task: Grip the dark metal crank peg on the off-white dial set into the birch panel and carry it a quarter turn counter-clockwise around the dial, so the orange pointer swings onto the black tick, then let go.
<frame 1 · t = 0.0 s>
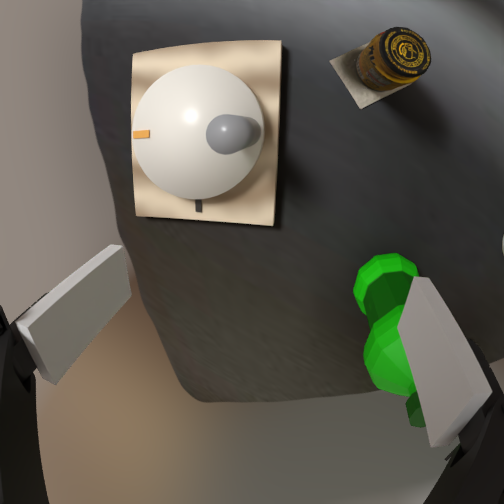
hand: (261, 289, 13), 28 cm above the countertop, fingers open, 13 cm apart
dial panel: (203, 130, 37), on the countertop
dial: (180, 132, 30), point 8 cm above the countertop, hinge at 0.0°
plastic bottle: (381, 273, 41), on the countertop
condiment: (371, 71, 30), on the countertop
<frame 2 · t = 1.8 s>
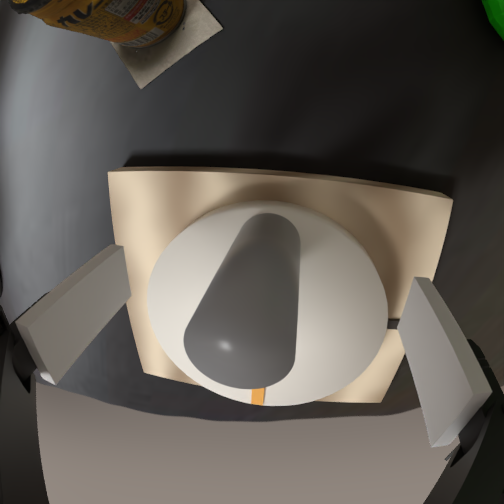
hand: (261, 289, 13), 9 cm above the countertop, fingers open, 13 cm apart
dial panel: (269, 298, 24), on the countertop
dial: (255, 368, 17), point 8 cm above the countertop, hinge at 0.0°
condiment: (155, 23, 16), on the countertop
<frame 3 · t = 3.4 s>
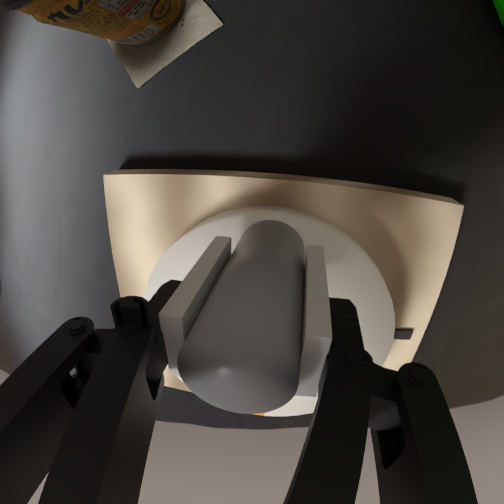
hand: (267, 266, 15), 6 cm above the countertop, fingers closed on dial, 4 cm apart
dial panel: (271, 306, 23), on the countertop
dial: (255, 382, 16), point 8 cm above the countertop, hinge at 0.0°, touching gripper
condiment: (152, 19, 15), on the countertop
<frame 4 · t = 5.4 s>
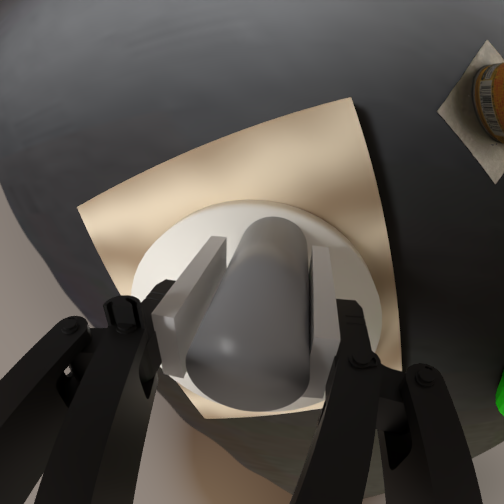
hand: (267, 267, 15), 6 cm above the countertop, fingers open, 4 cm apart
dial panel: (258, 301, 23), on the countertop
dial: (240, 376, 16), point 8 cm above the countertop, hinge at 58.4°, touching gripper
condiment: (493, 110, 14), on the countertop
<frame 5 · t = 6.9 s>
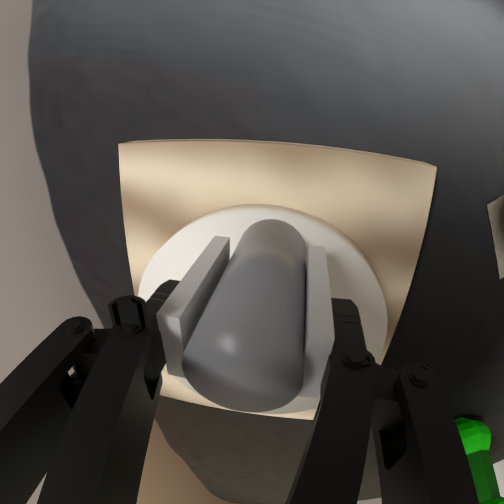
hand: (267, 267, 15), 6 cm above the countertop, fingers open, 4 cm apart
dial panel: (264, 304, 23), on the countertop
dial: (247, 379, 16), point 8 cm above the countertop, hinge at 85.4°, touching gripper
plastic bottle: (451, 427, 27), on the countertop
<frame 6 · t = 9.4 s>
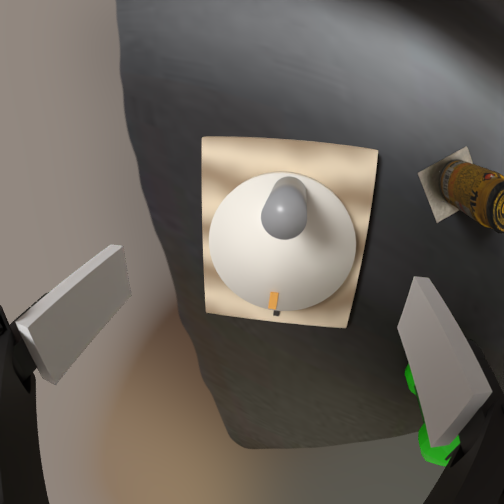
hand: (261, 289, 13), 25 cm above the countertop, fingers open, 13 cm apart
dial panel: (283, 235, 38), on the countertop
dial: (278, 262, 31), point 8 cm above the countertop, hinge at 86.4°
plastic bottle: (426, 354, 42), on the countertop
condiment: (451, 184, 31), on the countertop
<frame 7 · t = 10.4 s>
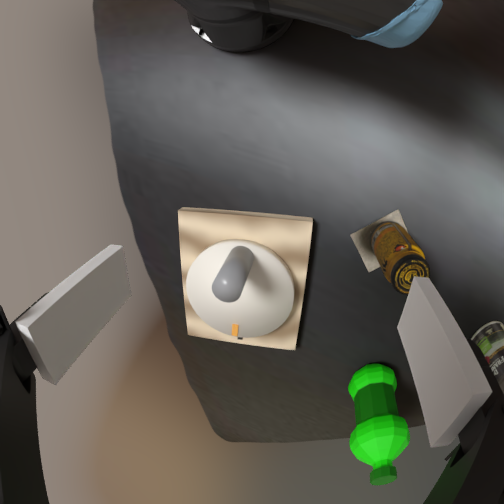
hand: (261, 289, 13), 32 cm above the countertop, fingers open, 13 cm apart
dial panel: (243, 281, 50), on the countertop
dial: (233, 308, 43), point 8 cm above the countertop, hinge at 86.4°
plastic bottle: (370, 371, 54), on the countertop
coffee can: (485, 339, 47), on the countertop
condiment: (383, 240, 43), on the countertop
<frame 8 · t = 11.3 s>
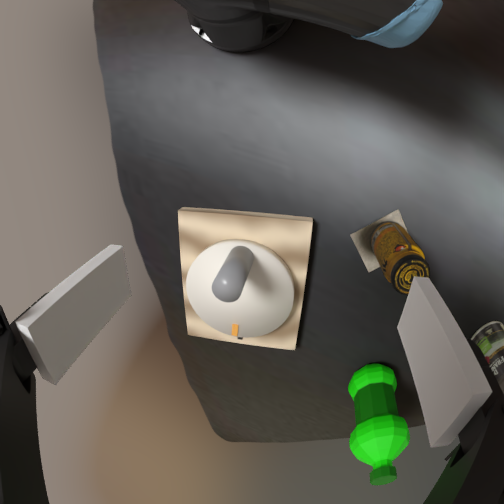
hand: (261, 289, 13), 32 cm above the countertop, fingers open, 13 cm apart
dial panel: (243, 281, 50), on the countertop
dial: (233, 307, 43), point 8 cm above the countertop, hinge at 86.4°
plastic bottle: (370, 371, 54), on the countertop
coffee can: (485, 339, 47), on the countertop
condiment: (383, 240, 43), on the countertop
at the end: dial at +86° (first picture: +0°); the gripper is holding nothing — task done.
